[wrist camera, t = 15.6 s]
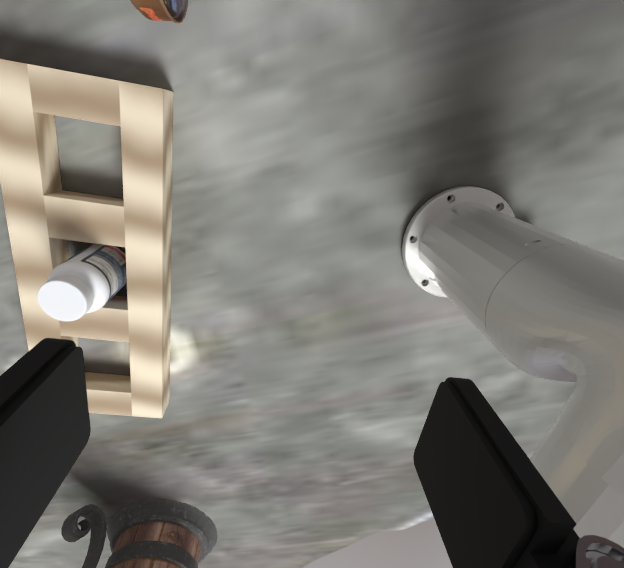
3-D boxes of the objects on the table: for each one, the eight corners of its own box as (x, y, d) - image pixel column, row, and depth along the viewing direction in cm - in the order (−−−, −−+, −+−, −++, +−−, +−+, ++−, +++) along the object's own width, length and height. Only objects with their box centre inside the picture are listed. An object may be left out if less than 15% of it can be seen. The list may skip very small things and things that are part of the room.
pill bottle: (88, 288, 40) (38, 329, 32) (75, 243, 38) (18, 275, 30) (137, 286, 40) (100, 326, 32) (127, 241, 38) (84, 272, 30)
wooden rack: (6, 61, 31) (-21, 55, 28) (173, 91, 33) (162, 88, 30) (53, 391, 45) (38, 408, 42) (169, 401, 47) (162, 418, 44)
